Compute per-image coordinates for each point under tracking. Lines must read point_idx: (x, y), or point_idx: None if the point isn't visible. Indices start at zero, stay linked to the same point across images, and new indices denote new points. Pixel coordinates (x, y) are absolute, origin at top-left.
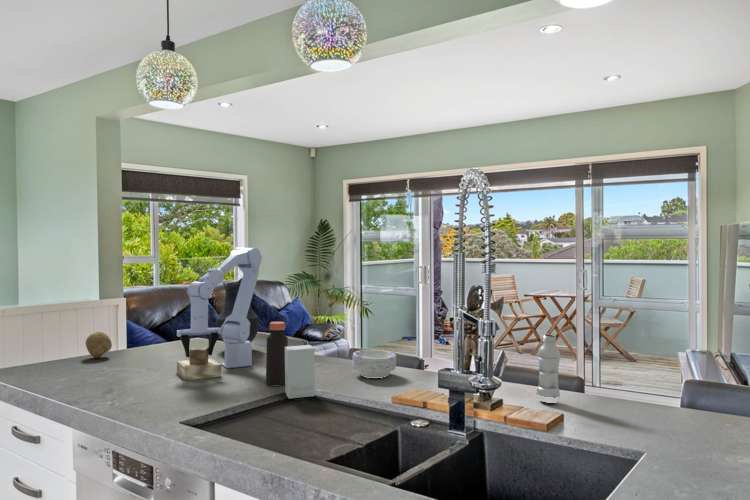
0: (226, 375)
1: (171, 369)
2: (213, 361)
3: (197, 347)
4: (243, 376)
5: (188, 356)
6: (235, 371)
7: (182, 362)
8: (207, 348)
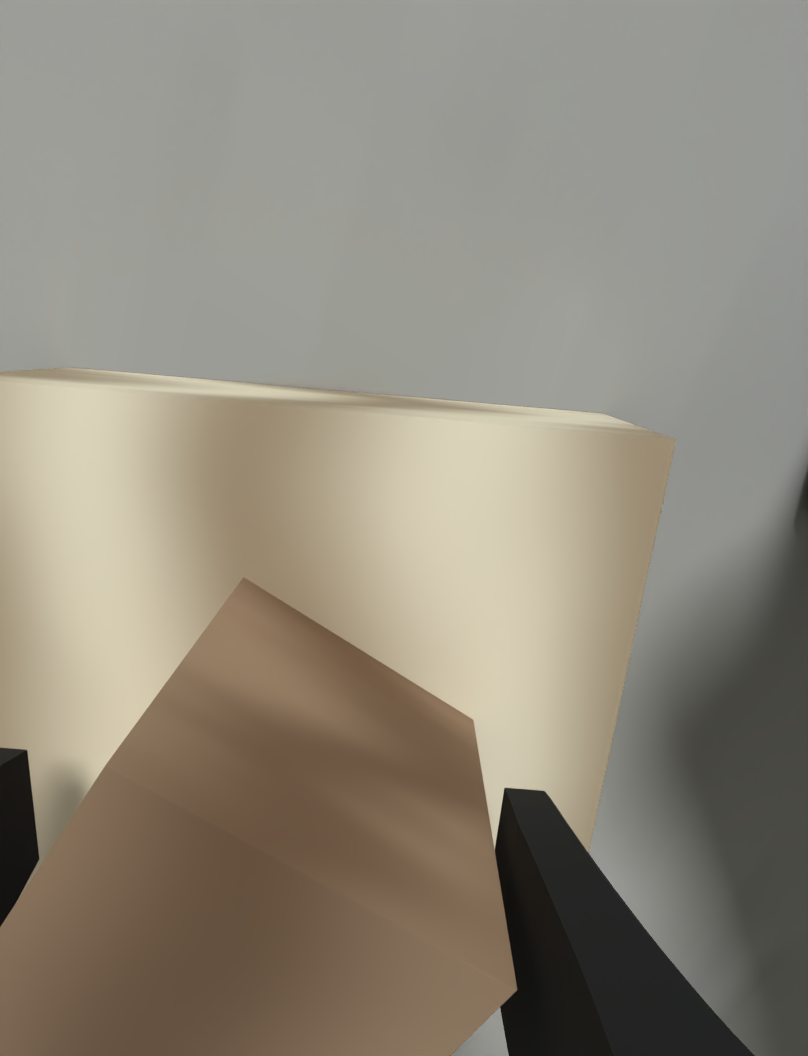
0: (600, 833)
1: (16, 58)
2: (556, 751)
3: (202, 867)
4: (732, 952)
5: (8, 882)
6: (800, 712)
7: (26, 555)
8: (451, 1038)
